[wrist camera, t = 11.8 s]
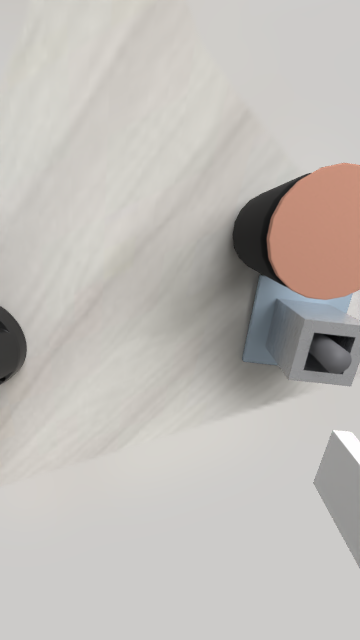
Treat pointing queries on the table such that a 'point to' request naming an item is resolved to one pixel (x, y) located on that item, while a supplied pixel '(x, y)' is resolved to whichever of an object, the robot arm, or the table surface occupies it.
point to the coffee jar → (306, 233)
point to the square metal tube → (296, 336)
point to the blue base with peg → (260, 323)
